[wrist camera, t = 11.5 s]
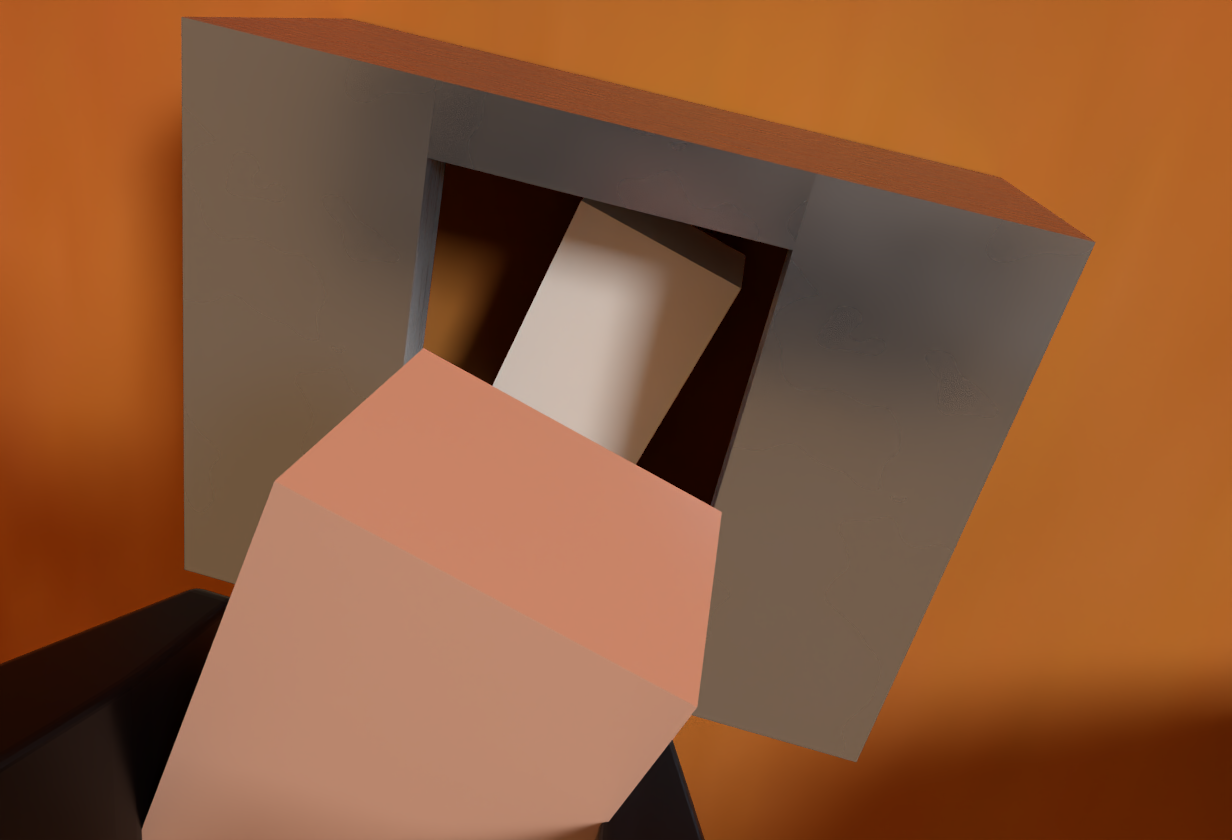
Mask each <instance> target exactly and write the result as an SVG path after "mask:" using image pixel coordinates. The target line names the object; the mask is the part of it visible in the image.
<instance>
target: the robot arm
mask: <svg viewBox="0 0 1232 840" xmlns="http://www.w3.org/2000/svg"><path fill="white" fill-rule="evenodd" d="M229 599H230V597H228V596H224V595H221V594H217V593H214V592H211V591H207V590H204V589H191V590H188V591H185V592H182V593H179V594H177V595H174V596H172V597H169V598H167V599H164V600H162V601H159V602H157V603H154V604H152V605H149V606H146V607H144V608H141V609H139V610H136V611H134V612H131V613H129V614H126V615H124V616H121V617H118V618H116V619H113V620H111V621H108V622H106V623H103V624H101V625H98V626H96V627H93V628H91V629H88V630H85V631H83V632H80V633H78V634H75V635H73V636H70V637H68V638H65V639H63V640H60V641H58V642H55V643H52V644H50V645H47V646H45V647H42V648H40V649H37V650H35V651H32V652H30V653H27V654H25V655H22V656H19V657H17V658H14V659H12V660H9V661H7V662H4V663H2V664H0V840H142V827H143V825H144V822H145V819H146V817H147V814H148V812H149V809H150V806H151V804H152V801H153V798H154V796H155V793H156V791H157V788H158V785H159V783H160V780H161V778H162V775H163V772H164V770H165V767H166V764H167V762H168V759H169V757H170V754H171V751H172V749H173V746H174V743H175V741H176V738H177V736H178V733H179V730H180V728H181V725H182V722H183V720H184V717H185V715H186V712H187V709H188V707H189V704H190V701H191V699H192V696H193V694H194V691H195V688H196V686H197V683H198V680H199V678H200V675H201V673H202V670H203V667H204V665H205V662H206V660H207V657H208V654H209V652H210V649H211V646H212V644H213V641H214V639H215V636H216V633H217V631H218V628H219V625H220V623H221V620H222V618H223V615H224V612H225V610H226V607H227V604H228V602H229ZM595 840H705V839H704V836H703V833H702V830H701V827H700V824H699V821H698V818H697V814H696V811H695V808H694V805H693V802H692V799H691V796H690V793H689V790H688V787H687V783H686V780H685V777H684V774H683V771H682V768H681V765H680V762H679V759H678V756H677V752H676V749H675V746H674V743H673V740H672V741H671V742H670V743H669V744H668V746H667V747H666V748H665V750H664V751H663V752H662V753H661V755H660V756H659V757H658V759H657V760H656V761H655V763H654V764H653V765H652V766H651V768H650V769H649V770H648V772H647V773H646V774H645V775H644V777H643V778H642V779H641V781H640V782H639V783H638V784H637V786H636V787H635V788H634V790H633V791H632V792H631V794H630V795H629V796H628V797H627V799H626V800H625V801H624V803H623V804H622V805H621V806H620V808H619V809H618V810H617V812H616V813H615V814H614V815H613V817H612V818H611V819H610V821H609V822H604V823H602V824H601V825H600V826H599V829H598V833H597V836H596V839H595Z"/></svg>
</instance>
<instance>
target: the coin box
mask: <svg viewBox="0 0 1232 840" xmlns="http://www.w3.org/2000/svg"><path fill="white" fill-rule="evenodd" d="M446 163H449V164H453V165H457V166H461V167H465V168H469V169H473V170H477V171H481V172H485V173H489V174H493V175H497V176H501V177H505V178H509V179H513V180H517V181H521V182H525V183H529V184H533V185H537V186H540V187H544V188H548V189H552V190H556V191H560V192H564V193H568V194H572V195H576V196H580V197H584V198H588V199H592V200H596V201H600V202H604V203H608V204H612V205H616V206H620V207H624V208H628V209H632V210H636V211H639V212H643V213H647V214H651V215H655V216H659V217H663V218H667V219H671V220H675V221H679V222H683V223H687V224H691V225H695V226H699V227H703V228H707V229H711V230H715V231H719V232H723V233H727V234H731V235H735V236H739V237H742V238H746V239H750V240H754V241H758V242H762V243H766V244H770V245H774V246H778V247H782V248H786V249H788V252H787V255H786V258H785V262H784V265H783V268H782V272H781V275H780V278H779V281H778V285H777V288H776V291H775V295H774V298H773V301H772V304H771V308H770V311H769V314H768V318H767V321H766V324H765V327H764V331H763V334H762V337H761V341H760V344H759V347H758V350H757V354H756V357H755V360H754V364H753V367H752V370H751V373H750V377H749V380H748V383H747V387H746V390H745V393H744V396H743V400H742V403H741V406H740V410H739V413H738V416H737V419H736V423H735V426H734V429H733V433H732V436H731V439H730V442H729V446H728V449H727V452H726V456H725V459H724V462H723V465H722V469H721V472H720V475H719V479H718V482H717V485H716V488H715V492H714V495H713V498H712V502H711V505H710V506H712V507H714V508H716V509H717V510H719V511H721V512H722V515H721V523H720V531H719V539H718V547H717V555H716V563H715V571H714V579H713V586H712V594H711V602H710V610H709V618H708V626H707V634H706V642H705V650H704V658H703V666H702V674H701V682H700V690H699V698H698V706H697V708H696V710H695V711H694V712H693V713H692V715H693V716H697V717H700V718H704V719H707V720H711V721H714V722H718V723H721V724H725V725H728V726H732V727H735V728H739V729H742V730H746V731H749V732H753V733H756V734H760V735H763V736H767V737H770V738H774V739H777V740H781V741H784V742H788V743H791V744H794V745H798V746H801V747H805V748H808V749H812V750H815V751H819V752H822V753H826V754H829V755H833V756H836V757H840V758H843V759H847V760H850V761H854V762H857V760H858V758H859V756H860V753H861V751H862V749H863V747H864V745H865V742H866V740H867V738H868V736H869V734H870V732H871V729H872V727H873V725H874V723H875V721H876V719H877V716H878V714H879V712H880V710H881V708H882V706H883V703H884V701H885V699H886V697H887V695H888V692H889V690H890V688H891V686H892V684H893V682H894V679H895V677H896V675H897V673H898V671H899V669H900V666H901V664H902V662H903V660H904V658H905V655H906V653H907V651H908V649H909V647H910V645H911V642H912V640H913V638H914V636H915V634H916V632H917V629H918V627H919V625H920V623H921V621H922V619H923V616H924V614H925V612H926V610H927V608H928V605H929V603H930V601H931V599H932V597H933V595H934V592H935V590H936V588H937V586H938V584H939V582H940V579H941V577H942V575H943V573H944V571H945V569H946V566H947V564H948V562H949V560H950V558H951V555H952V553H953V551H954V549H955V547H956V545H957V542H958V540H959V538H960V536H961V534H962V532H963V529H964V527H965V525H966V523H967V521H968V518H969V516H970V514H971V512H972V510H973V508H974V505H975V503H976V501H977V499H978V497H979V495H980V492H981V490H982V488H983V486H984V484H985V482H986V479H987V477H988V475H989V473H990V471H991V468H992V466H993V464H994V462H995V460H996V458H997V455H998V453H999V451H1000V449H1001V447H1002V445H1003V442H1004V440H1005V438H1006V436H1007V434H1008V431H1009V429H1010V427H1011V425H1012V423H1013V421H1014V418H1015V416H1016V414H1017V412H1018V410H1019V408H1020V405H1021V403H1022V401H1023V399H1024V397H1025V395H1026V392H1027V390H1028V388H1029V386H1030V384H1031V381H1032V379H1033V377H1034V375H1035V373H1036V371H1037V368H1038V366H1039V364H1040V362H1041V360H1042V358H1043V355H1044V353H1045V351H1046V349H1047V347H1048V344H1049V342H1050V340H1051V338H1052V336H1053V334H1054V331H1055V329H1056V327H1057V325H1058V323H1059V321H1060V318H1061V316H1062V314H1063V312H1064V310H1065V308H1066V305H1067V303H1068V301H1069V299H1070V297H1071V294H1072V292H1073V290H1074V288H1075V286H1076V284H1077V281H1078V279H1079V277H1080V275H1081V273H1082V271H1083V268H1084V266H1085V264H1086V262H1087V260H1088V257H1089V255H1090V253H1091V251H1092V249H1093V247H1094V244H1095V242H1094V241H1093V240H1091V239H1090V238H1089V237H1087V236H1086V235H1084V234H1083V233H1081V232H1080V231H1078V230H1077V229H1075V228H1074V227H1072V226H1071V225H1070V224H1068V223H1067V222H1065V221H1064V220H1062V219H1061V218H1059V217H1058V216H1056V215H1055V214H1053V213H1052V212H1051V211H1049V210H1048V209H1046V208H1045V207H1043V206H1042V205H1040V204H1039V203H1037V202H1036V201H1034V200H1033V199H1032V198H1030V197H1029V196H1027V195H1026V194H1024V193H1023V192H1021V191H1020V190H1018V189H1017V188H1015V187H1014V186H1013V185H1011V184H1010V183H1008V182H1007V181H1005V180H1004V179H1002V178H999V177H995V176H991V175H987V174H983V173H979V172H975V171H971V170H967V169H962V168H958V167H954V166H950V165H946V164H942V163H938V162H934V161H930V160H926V159H921V158H917V157H913V156H909V155H905V154H901V153H897V152H893V151H889V150H885V149H880V148H876V147H872V146H868V145H864V144H860V143H856V142H852V141H848V140H844V139H839V138H835V137H831V136H827V135H823V134H819V133H815V132H811V131H807V130H803V129H798V128H794V127H790V126H786V125H782V124H778V123H774V122H770V121H766V120H762V119H757V118H753V117H749V116H745V115H741V114H737V113H733V112H729V111H725V110H721V109H716V108H712V107H708V106H704V105H700V104H696V103H692V102H688V101H684V100H680V99H675V98H671V97H667V96H663V95H659V94H655V93H651V92H647V91H643V90H639V89H634V88H630V87H626V86H622V85H618V84H614V83H610V82H606V81H602V80H598V79H593V78H589V77H585V76H581V75H577V74H573V73H569V72H565V71H561V70H557V69H552V68H548V67H544V66H540V65H536V64H532V63H528V62H524V61H520V60H516V59H511V58H507V57H503V56H499V55H495V54H491V53H487V52H483V51H479V50H475V49H470V48H466V47H462V46H458V45H454V44H450V43H446V42H442V41H438V40H434V39H429V38H425V37H421V36H417V35H413V34H409V33H405V32H401V31H397V30H393V29H388V28H384V27H380V26H376V25H372V24H368V23H364V22H360V21H356V20H352V19H324V18H240V17H182V201H183V394H184V570H188V571H191V572H195V573H198V574H202V575H205V576H209V577H212V578H216V579H219V580H223V581H226V582H230V583H233V584H235V583H236V581H237V578H238V576H239V573H240V570H241V568H242V565H243V563H244V560H245V557H246V555H247V552H248V549H249V547H250V544H251V542H252V539H253V536H254V534H255V531H256V528H257V526H258V523H259V521H260V518H261V515H262V513H263V510H264V507H265V505H266V502H267V500H268V497H269V494H270V492H271V489H272V486H273V484H274V481H275V480H276V479H277V478H278V477H280V476H281V475H282V474H283V473H284V472H285V471H286V470H287V469H289V468H290V467H291V466H292V465H293V464H294V463H295V462H296V461H297V460H299V459H300V458H301V457H302V456H303V455H304V454H305V453H306V452H308V451H309V450H310V449H311V448H312V447H313V446H314V445H315V444H317V443H318V442H319V441H320V440H321V439H322V438H323V437H324V436H325V435H327V434H328V433H329V432H330V431H331V430H332V429H333V428H334V427H336V426H337V425H338V424H339V423H340V422H341V421H342V420H343V419H345V418H346V417H347V416H348V415H349V414H350V413H351V412H352V411H353V410H355V409H356V408H357V407H358V406H359V405H360V404H361V403H362V402H364V401H365V400H366V399H367V398H368V397H369V396H370V395H371V394H373V393H374V392H375V391H376V390H377V389H378V388H379V387H380V386H381V385H383V384H384V383H385V382H386V381H387V380H388V379H389V378H390V377H392V376H393V375H394V374H395V373H396V372H397V371H398V370H399V369H401V368H402V367H403V366H404V365H405V364H406V363H407V362H408V361H409V360H411V359H412V358H413V357H414V356H415V355H416V354H417V353H418V352H420V351H421V350H422V349H423V343H424V335H425V327H426V319H427V310H428V302H429V294H430V286H431V278H432V270H433V262H434V254H435V246H436V238H437V230H438V222H439V214H440V205H441V197H442V189H443V181H444V173H445V165H446Z"/></svg>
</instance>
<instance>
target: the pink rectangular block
mask: <svg viewBox="0 0 1232 840" xmlns="http://www.w3.org/2000/svg"><path fill="white" fill-rule="evenodd" d="M721 515H722V512H721V511H719V510H717V509H716V508H714V507H712V506H710V505H708V504H706V503H705V502H703V501H701V500H699V499H697V498H695V497H694V496H692V495H690V494H688V493H686V492H685V491H683V490H681V489H679V488H677V487H675V486H674V485H672V484H670V483H668V482H666V481H665V480H663V479H661V478H659V477H657V476H655V475H654V474H652V473H650V472H648V471H646V470H644V469H643V468H641V467H639V466H637V465H635V464H634V463H632V462H630V461H628V460H626V459H624V458H623V457H621V456H619V455H617V454H615V453H614V452H612V451H610V450H608V449H606V448H604V447H603V446H601V445H599V444H597V443H595V442H593V441H592V440H590V439H588V438H586V437H584V436H583V435H581V434H579V433H577V432H575V431H573V430H572V429H570V428H568V427H566V426H564V425H563V424H561V423H559V422H557V421H555V420H553V419H552V418H550V417H548V416H546V415H544V414H542V413H541V412H539V411H537V410H535V409H533V408H532V407H530V406H528V405H526V404H524V403H522V402H521V401H519V400H517V399H515V398H513V397H512V396H510V395H508V394H506V393H504V392H502V391H501V390H499V389H497V388H495V387H493V386H491V385H490V384H488V383H486V382H484V381H482V380H481V379H479V378H477V377H475V376H473V375H471V374H470V373H468V372H466V371H464V370H462V369H460V368H459V367H457V366H455V365H453V364H451V363H450V362H448V361H446V360H444V359H442V358H440V357H439V356H437V355H435V354H433V353H431V352H430V351H428V350H426V349H424V348H423V349H422V350H421V351H420V352H418V353H417V354H416V355H415V356H414V357H413V358H412V359H411V360H409V361H408V362H407V363H406V364H405V365H404V366H403V367H402V368H401V369H399V370H398V371H397V372H396V373H395V374H394V375H393V376H392V377H390V378H389V379H388V380H387V381H386V382H385V383H384V384H383V385H381V386H380V387H379V388H378V389H377V390H376V391H375V392H374V393H373V394H371V395H370V396H369V397H368V398H367V399H366V400H365V401H364V402H362V403H361V404H360V405H359V406H358V407H357V408H356V409H355V410H353V411H352V412H351V413H350V414H349V415H348V416H347V417H346V418H345V419H343V420H342V421H341V422H340V423H339V424H338V425H337V426H336V427H334V428H333V429H332V430H331V431H330V432H329V433H328V434H327V435H325V436H324V437H323V438H322V439H321V440H320V441H319V442H318V443H317V444H315V445H314V446H313V447H312V448H311V449H310V450H309V451H308V452H306V453H305V454H304V455H303V456H302V457H301V458H300V459H299V460H297V461H296V462H295V463H294V464H293V465H292V466H291V467H290V468H289V469H287V470H286V471H285V472H284V473H283V474H282V475H281V476H280V477H278V478H277V479H276V480H275V481H274V484H273V486H272V489H271V492H270V494H269V497H268V500H267V502H266V505H265V507H264V510H263V513H262V515H261V518H260V521H259V523H258V526H257V528H256V531H255V534H254V536H253V539H252V542H251V544H250V547H249V549H248V552H247V555H246V557H245V560H244V563H243V565H242V568H241V570H240V573H239V576H238V578H237V581H236V583H235V586H234V589H233V591H232V594H231V597H230V599H229V602H228V604H227V607H226V610H225V612H224V615H223V618H222V620H221V623H220V625H219V628H218V631H217V633H216V636H215V639H214V641H213V644H212V646H211V649H210V652H209V654H208V657H207V660H206V662H205V665H204V667H203V670H202V673H201V675H200V678H199V680H198V683H197V686H196V688H195V691H194V694H193V696H192V699H191V701H190V704H189V707H188V709H187V712H186V715H185V717H184V720H183V722H182V725H181V728H180V730H179V733H178V736H177V738H176V741H175V743H174V746H173V749H172V751H171V754H170V757H169V759H168V762H167V764H166V767H165V770H164V772H163V775H162V778H161V780H160V783H159V785H158V788H157V791H156V793H155V796H154V798H153V801H152V804H151V806H150V809H149V812H148V814H147V817H146V819H145V822H144V825H143V827H142V840H595V839H596V836H597V833H598V829H599V826H600V825H601V824H602V823H604V822H609V821H610V819H611V818H612V817H613V815H614V814H615V813H616V812H617V810H618V809H619V808H620V806H621V805H622V804H623V803H624V801H625V800H626V799H627V797H628V796H629V795H630V794H631V792H632V791H633V790H634V788H635V787H636V786H637V784H638V783H639V782H640V781H641V779H642V778H643V777H644V775H645V774H646V773H647V772H648V770H649V769H650V768H651V766H652V765H653V764H654V763H655V761H656V760H657V759H658V757H659V756H660V755H661V753H662V752H663V751H664V750H665V748H666V747H667V746H668V744H669V743H670V742H671V741H672V739H673V738H674V737H675V735H676V734H677V733H678V732H679V730H680V729H681V728H682V726H683V725H684V724H685V723H686V721H687V720H688V719H689V717H690V716H691V715H692V713H693V712H694V711H695V710H696V708H697V706H698V698H699V690H700V682H701V674H702V666H703V658H704V650H705V642H706V634H707V626H708V618H709V610H710V602H711V594H712V586H713V579H714V571H715V563H716V555H717V547H718V539H719V531H720V523H721Z"/></svg>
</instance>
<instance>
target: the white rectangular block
mask: <svg viewBox="0 0 1232 840" xmlns="http://www.w3.org/2000/svg"><path fill="white" fill-rule="evenodd" d="M745 258H746V255H744V254H742V253H740V252H738V251H737V250H735V249H733V248H731V247H729V246H728V245H726V244H724V243H722V242H720V241H719V240H717V239H715V238H713V237H711V236H709V235H708V234H706V233H704V232H702V231H700V230H699V229H697V228H695V227H693V226H691V225H690V224H687V223H683V222H679V221H675V220H671V219H667V218H663V217H659V216H655V215H651V214H647V213H643V212H639V211H636V210H632V209H628V208H624V207H620V206H616V205H612V204H608V203H604V202H600V201H596V200H592V199H588V198H583V199H582V200H581V202H580V204H579V206H578V208H577V210H576V213H575V215H574V217H573V219H572V221H571V223H570V225H569V227H568V229H567V231H566V233H565V235H564V237H563V240H562V242H561V244H560V246H559V248H558V250H557V252H556V254H555V256H554V258H553V260H552V262H551V265H550V267H549V269H548V271H547V273H546V275H545V277H544V279H543V281H542V283H541V285H540V287H539V290H538V292H537V294H536V296H535V298H534V300H533V302H532V304H531V306H530V308H529V310H528V312H527V314H526V317H525V319H524V321H523V323H522V325H521V327H520V329H519V331H518V333H517V335H516V337H515V339H514V342H513V344H512V346H511V348H510V350H509V352H508V354H507V356H506V358H505V360H504V362H503V364H502V367H501V369H500V371H499V373H498V375H497V377H496V379H495V381H494V383H493V385H492V386H493V387H495V388H497V389H499V390H501V391H502V392H504V393H506V394H508V395H510V396H512V397H513V398H515V399H517V400H519V401H521V402H522V403H524V404H526V405H528V406H530V407H532V408H533V409H535V410H537V411H539V412H541V413H542V414H544V415H546V416H548V417H550V418H552V419H553V420H555V421H557V422H559V423H561V424H563V425H564V426H566V427H568V428H570V429H572V430H573V431H575V432H577V433H579V434H581V435H583V436H584V437H586V438H588V439H590V440H592V441H593V442H595V443H597V444H599V445H601V446H603V447H604V448H606V449H608V450H610V451H612V452H614V453H615V454H617V455H619V456H621V457H623V458H624V459H626V460H628V461H630V462H632V463H634V464H635V465H636V463H637V462H638V460H639V458H640V457H641V455H642V453H643V452H644V450H645V448H646V447H647V445H648V443H649V442H650V440H651V438H652V437H653V435H654V433H655V432H656V430H657V428H658V427H659V425H660V423H661V422H662V420H663V418H664V417H665V415H666V413H667V412H668V410H669V408H670V407H671V405H672V403H673V402H674V400H675V398H676V397H677V395H678V393H679V392H680V390H681V388H682V387H683V385H684V383H685V381H686V380H687V378H688V376H689V375H690V373H691V371H692V370H693V368H694V366H695V365H696V363H697V361H698V360H699V358H700V356H701V355H702V353H703V351H704V350H705V348H706V346H707V345H708V343H709V341H710V340H711V338H712V336H713V335H714V333H715V331H716V330H717V328H718V326H719V325H720V323H721V321H722V320H723V318H724V316H725V315H726V313H727V311H728V310H729V308H730V306H731V305H732V303H733V301H734V300H735V298H736V296H737V295H738V293H739V291H740V290H741V286H742V279H743V272H744V265H745Z"/></svg>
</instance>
